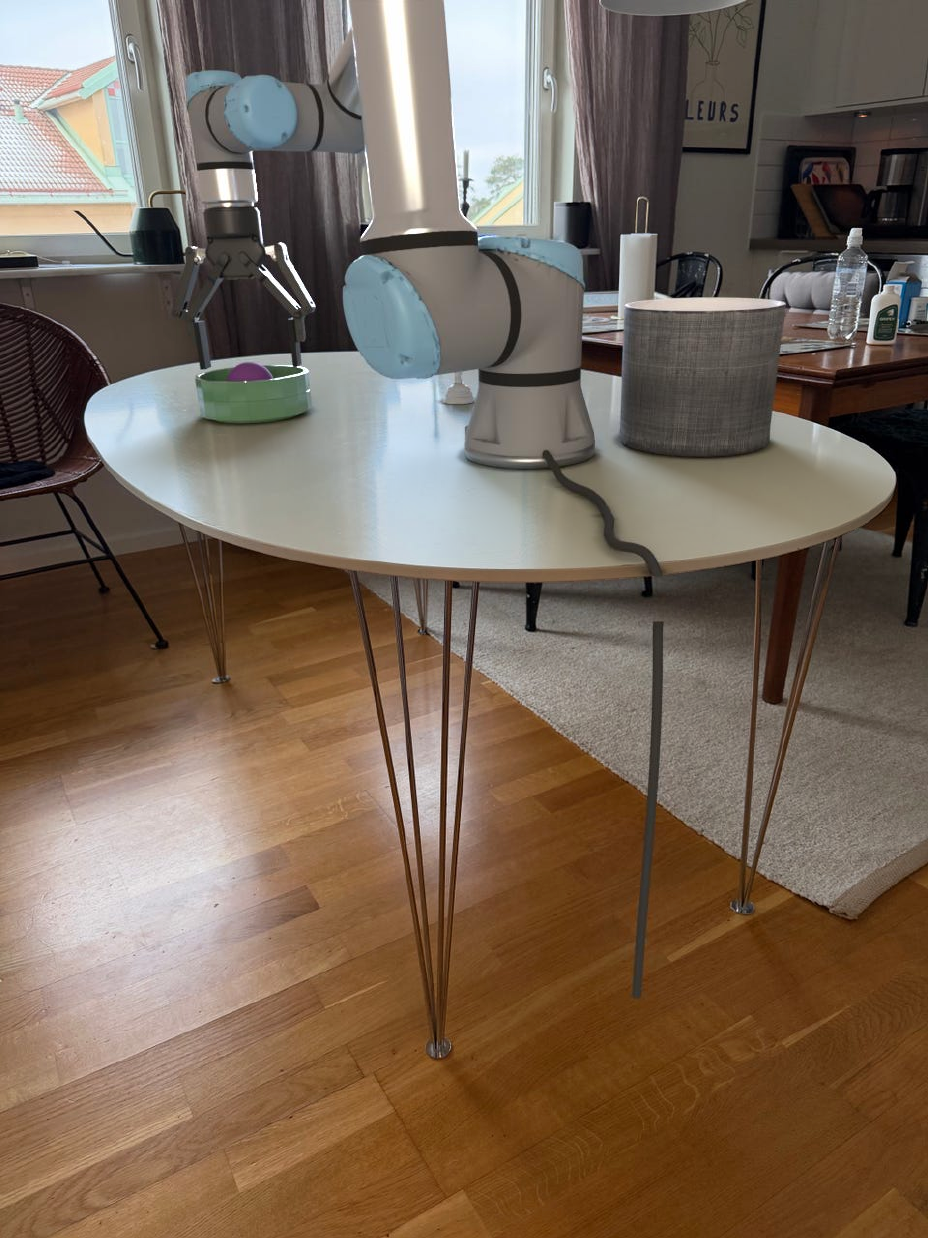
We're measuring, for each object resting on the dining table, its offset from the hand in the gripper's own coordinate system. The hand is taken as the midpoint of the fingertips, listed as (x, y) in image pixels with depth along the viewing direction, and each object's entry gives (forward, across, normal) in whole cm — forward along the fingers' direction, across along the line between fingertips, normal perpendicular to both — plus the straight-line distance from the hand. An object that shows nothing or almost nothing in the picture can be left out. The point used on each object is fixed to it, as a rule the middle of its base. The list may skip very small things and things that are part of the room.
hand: (251, 367), depth 125 cm
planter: (+7, -60, +23) cm, 65 cm away
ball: (+3, 0, 0) cm, 3 cm away
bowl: (+7, 0, 0) cm, 7 cm away
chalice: (+7, -30, -7) cm, 32 cm away
